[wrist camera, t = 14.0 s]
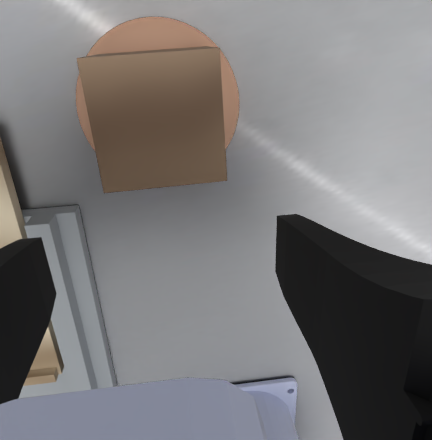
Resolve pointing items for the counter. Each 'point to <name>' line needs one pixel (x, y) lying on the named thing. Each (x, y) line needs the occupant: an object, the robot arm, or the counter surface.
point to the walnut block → (156, 117)
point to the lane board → (71, 303)
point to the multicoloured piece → (5, 234)
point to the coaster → (156, 40)
